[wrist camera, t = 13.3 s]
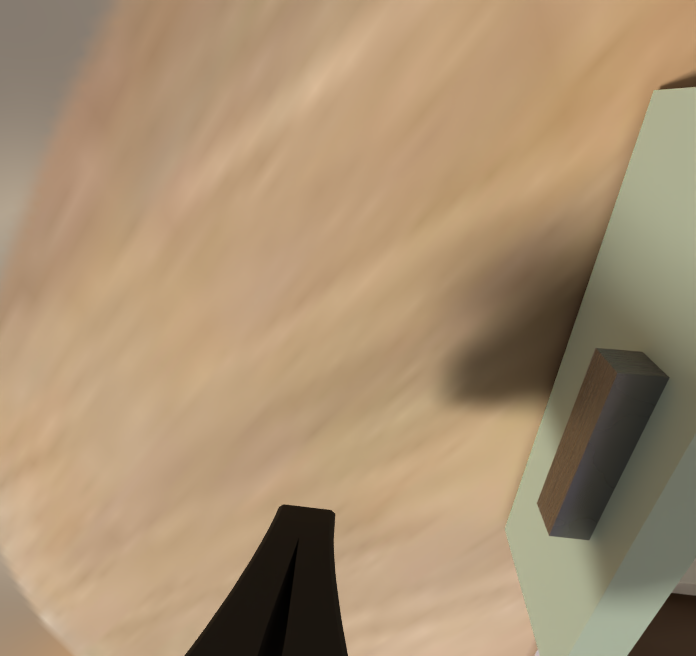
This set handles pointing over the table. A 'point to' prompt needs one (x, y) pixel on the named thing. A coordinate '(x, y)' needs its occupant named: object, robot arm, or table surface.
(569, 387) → the tray
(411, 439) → the table surface
